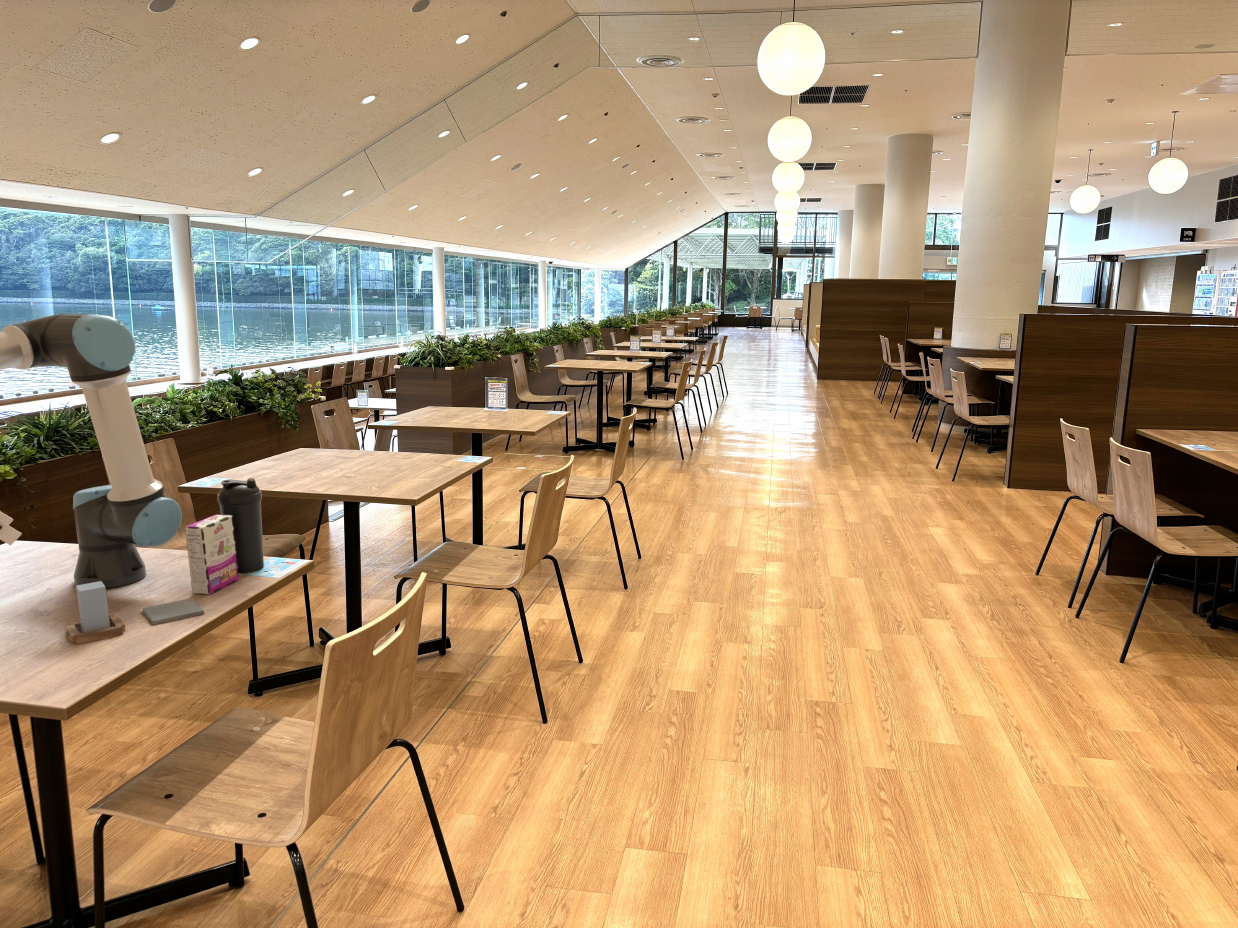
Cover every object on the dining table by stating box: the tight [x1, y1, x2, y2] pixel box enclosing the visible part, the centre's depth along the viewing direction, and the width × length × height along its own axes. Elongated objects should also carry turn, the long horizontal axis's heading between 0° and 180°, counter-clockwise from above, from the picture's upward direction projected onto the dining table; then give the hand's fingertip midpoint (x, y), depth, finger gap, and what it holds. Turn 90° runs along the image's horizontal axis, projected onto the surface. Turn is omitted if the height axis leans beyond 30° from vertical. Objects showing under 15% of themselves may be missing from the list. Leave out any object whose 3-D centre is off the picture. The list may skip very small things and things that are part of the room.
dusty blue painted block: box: [75, 581, 111, 634], centre depth 176 cm, size 4×4×10 cm
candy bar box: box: [184, 514, 240, 595], centre depth 203 cm, size 11×5×16 cm, turn 168°
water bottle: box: [216, 477, 265, 575], centre depth 216 cm, size 10×10×23 cm
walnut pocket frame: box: [65, 614, 126, 645], centre depth 177 cm, size 10×10×2 cm
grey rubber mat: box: [141, 597, 205, 625], centre depth 188 cm, size 10×10×1 cm
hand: (12, 532), depth 165 cm, fingers open, 13 cm apart
